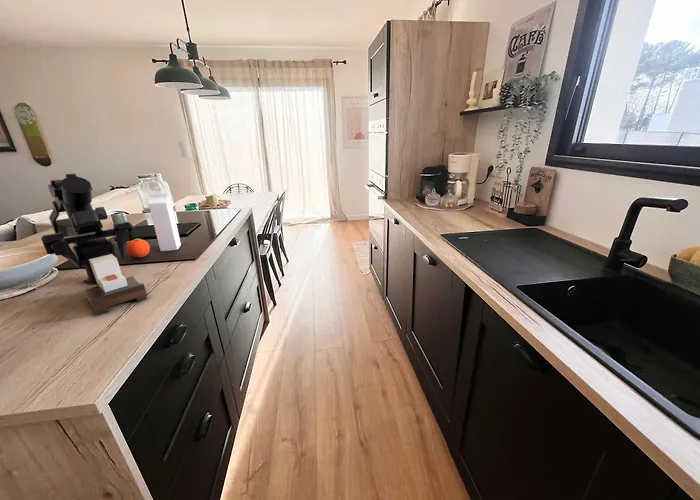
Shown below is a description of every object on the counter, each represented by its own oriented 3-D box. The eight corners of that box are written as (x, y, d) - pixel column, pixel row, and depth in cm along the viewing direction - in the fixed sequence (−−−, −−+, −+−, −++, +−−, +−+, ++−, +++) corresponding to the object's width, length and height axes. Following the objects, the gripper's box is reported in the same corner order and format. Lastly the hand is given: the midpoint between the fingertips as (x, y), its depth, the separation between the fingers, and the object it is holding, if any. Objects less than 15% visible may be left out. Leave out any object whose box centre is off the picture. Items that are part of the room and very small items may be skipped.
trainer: (97, 285, 79) (87, 258, 76) (120, 279, 82) (112, 253, 80) (105, 296, 73) (95, 268, 70) (129, 289, 77) (121, 261, 74)
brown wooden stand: (87, 299, 78) (81, 284, 76) (135, 285, 85) (131, 271, 84) (96, 315, 70) (90, 299, 69) (148, 298, 78) (143, 283, 76)
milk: (177, 250, 113) (164, 194, 106) (160, 251, 112) (145, 195, 104) (181, 245, 119) (169, 191, 111) (164, 246, 117) (151, 192, 109)
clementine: (133, 254, 109) (127, 236, 107) (154, 251, 112) (149, 234, 109) (127, 261, 102) (121, 243, 100) (150, 258, 105) (145, 240, 102)
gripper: (26, 204, 68) (48, 258, 65) (122, 193, 81) (143, 238, 78) (37, 229, 76) (57, 278, 73) (123, 216, 89) (142, 257, 86)
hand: (102, 262), depth 78 cm, fingers open, 9 cm apart
